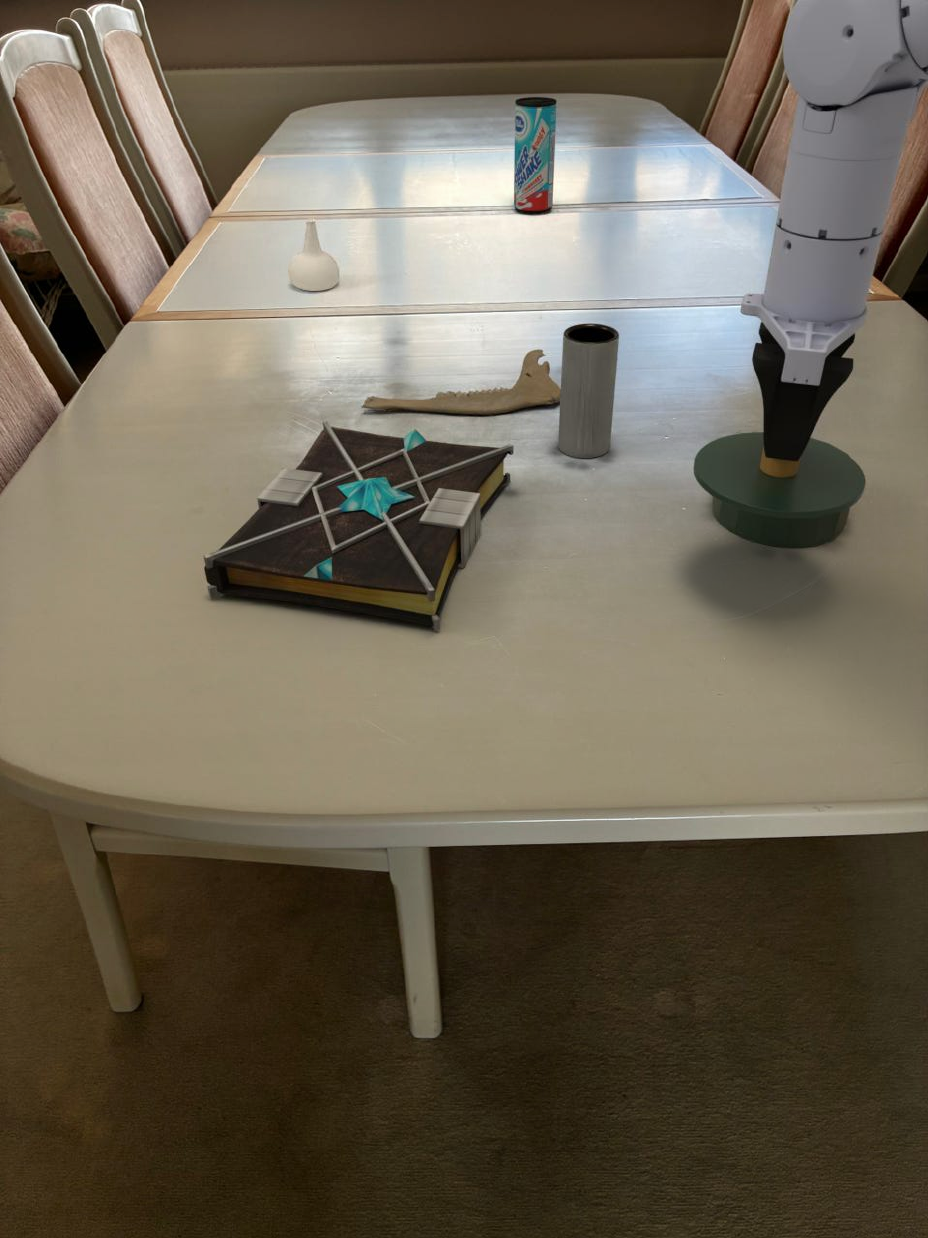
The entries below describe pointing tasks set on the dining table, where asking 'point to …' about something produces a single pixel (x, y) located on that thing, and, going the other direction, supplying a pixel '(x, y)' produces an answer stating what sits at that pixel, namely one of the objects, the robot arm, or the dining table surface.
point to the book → (364, 525)
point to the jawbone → (486, 394)
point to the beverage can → (534, 154)
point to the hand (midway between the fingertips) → (783, 446)
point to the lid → (778, 478)
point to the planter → (587, 389)
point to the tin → (780, 525)
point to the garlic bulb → (313, 264)
